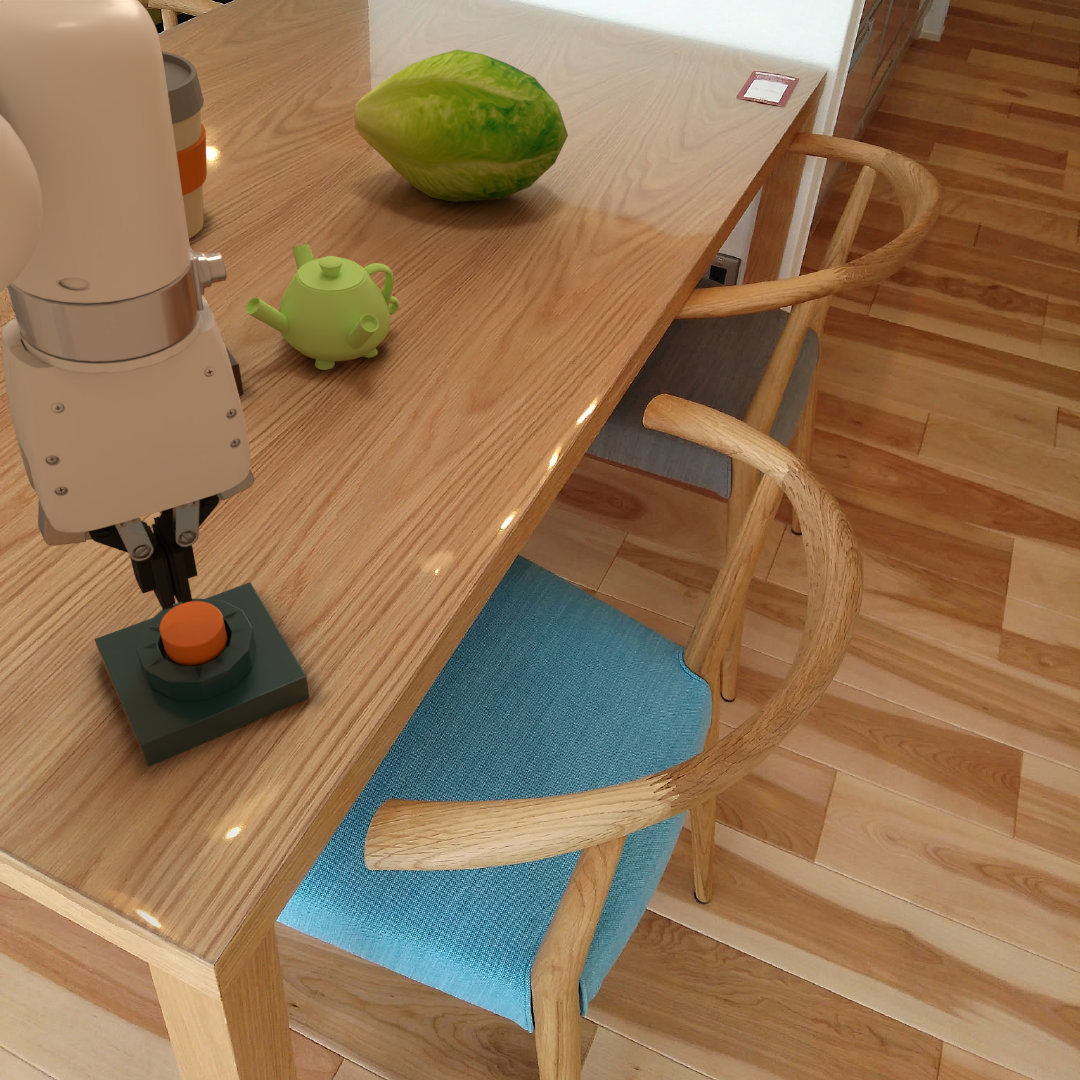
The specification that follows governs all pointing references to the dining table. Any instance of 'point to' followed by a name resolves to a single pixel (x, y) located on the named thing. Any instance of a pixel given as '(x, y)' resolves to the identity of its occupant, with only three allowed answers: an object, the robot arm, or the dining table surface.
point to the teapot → (331, 308)
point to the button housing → (202, 678)
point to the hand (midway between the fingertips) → (169, 589)
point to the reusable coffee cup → (187, 135)
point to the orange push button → (193, 633)
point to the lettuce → (463, 126)
